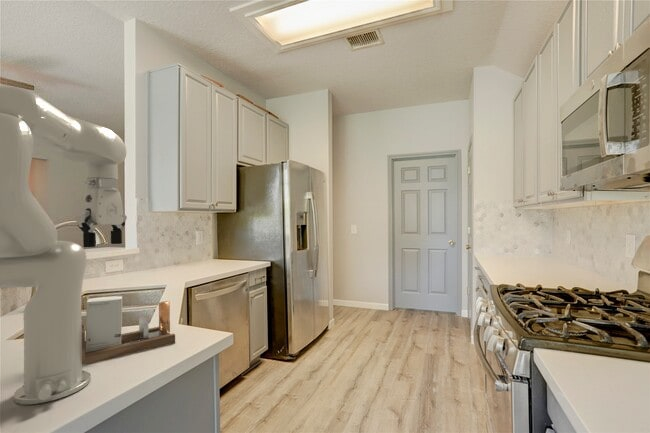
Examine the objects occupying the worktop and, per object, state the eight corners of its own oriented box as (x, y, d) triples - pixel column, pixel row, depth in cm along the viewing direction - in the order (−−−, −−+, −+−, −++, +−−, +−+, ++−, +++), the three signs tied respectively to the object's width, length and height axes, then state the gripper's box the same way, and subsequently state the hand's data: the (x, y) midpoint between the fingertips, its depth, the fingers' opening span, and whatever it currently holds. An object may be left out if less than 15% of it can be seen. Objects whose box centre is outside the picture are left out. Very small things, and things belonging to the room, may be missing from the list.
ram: (173, 340, 97) (172, 303, 97) (143, 347, 92) (143, 308, 92) (167, 334, 103) (166, 299, 103) (139, 340, 98) (138, 304, 98)
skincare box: (84, 359, 85) (84, 302, 85) (87, 352, 90) (86, 298, 90) (122, 352, 89) (122, 297, 89) (122, 345, 94) (122, 294, 94)
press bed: (175, 343, 95) (174, 315, 95) (73, 367, 80) (72, 334, 81) (165, 332, 104) (164, 307, 105) (72, 352, 90) (71, 323, 90)
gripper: (89, 182, 85) (90, 248, 85) (135, 187, 102) (136, 242, 102) (63, 183, 86) (64, 248, 86) (113, 188, 103) (114, 242, 103)
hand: (103, 245), depth 94 cm, fingers open, 9 cm apart
